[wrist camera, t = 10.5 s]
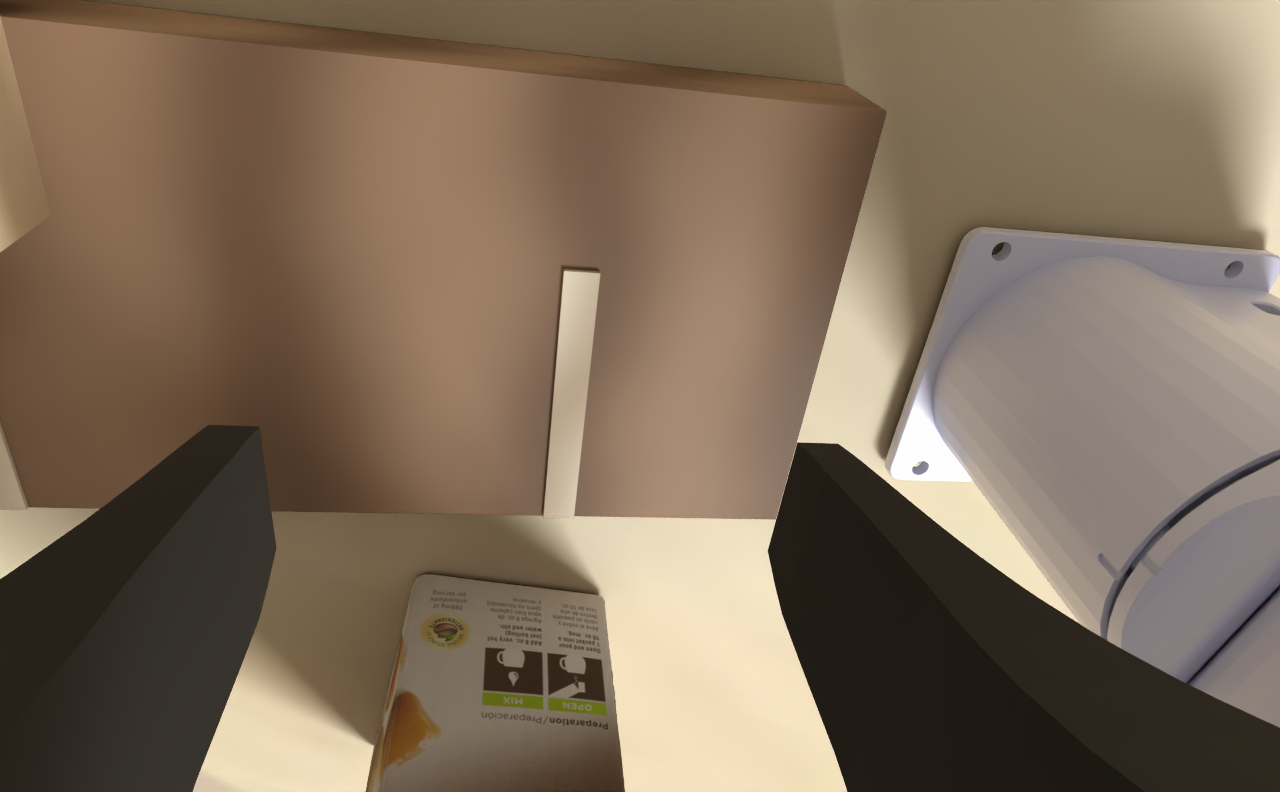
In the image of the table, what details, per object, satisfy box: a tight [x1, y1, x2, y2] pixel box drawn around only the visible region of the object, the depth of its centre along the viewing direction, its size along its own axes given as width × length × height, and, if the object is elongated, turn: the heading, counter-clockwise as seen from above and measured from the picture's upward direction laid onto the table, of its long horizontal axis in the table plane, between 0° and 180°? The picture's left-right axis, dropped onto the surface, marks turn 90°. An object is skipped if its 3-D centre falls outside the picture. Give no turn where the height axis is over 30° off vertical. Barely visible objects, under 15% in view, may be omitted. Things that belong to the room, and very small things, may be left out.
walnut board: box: [0, 0, 887, 519], centre depth 19 cm, size 24×11×3 cm, turn 83°
